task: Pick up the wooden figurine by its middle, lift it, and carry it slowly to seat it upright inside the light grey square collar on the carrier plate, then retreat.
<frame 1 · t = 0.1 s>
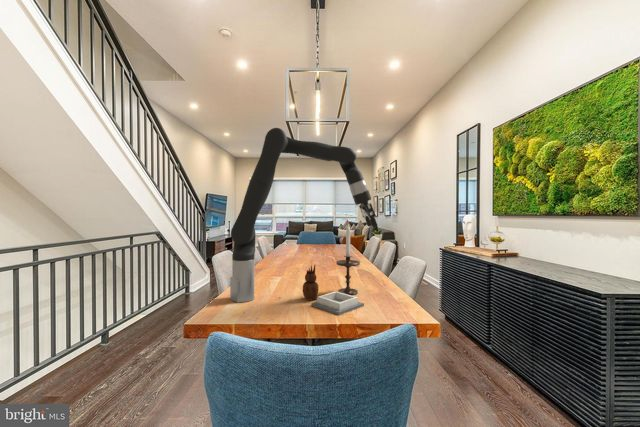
hand: (372, 226, 129), 31 cm above the table, tool tilted 20°, fingers open, 8 cm apart
carrier plate: (337, 305, 117), on the table
candlestick: (347, 293, 135), on the table
wooden figurine: (310, 299, 125), on the table
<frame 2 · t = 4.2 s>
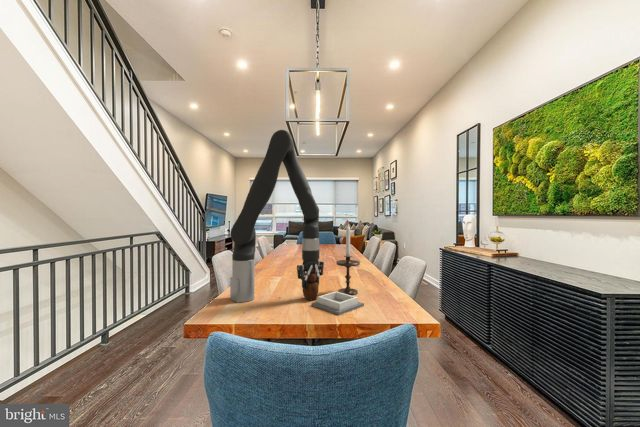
hand: (310, 287, 125), 5 cm above the table, tool pointing down, fingers closed on wooden figurine, 6 cm apart
wooden figurine: (310, 299, 125), on the table, touching gripper
everything else where it was.
when the fingers open (8 cm above the table, at t = 14.0 s): wooden figurine drops 1 cm, resting on carrier plate.
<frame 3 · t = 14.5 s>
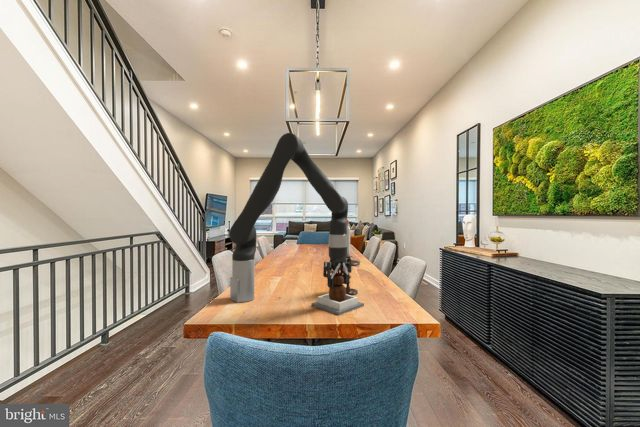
hand: (337, 285, 117), 8 cm above the table, tool pointing down, fingers open, 8 cm apart
wooden figurine: (337, 303, 117), point 1 cm above the table, touching carrier plate
everything else where it was.
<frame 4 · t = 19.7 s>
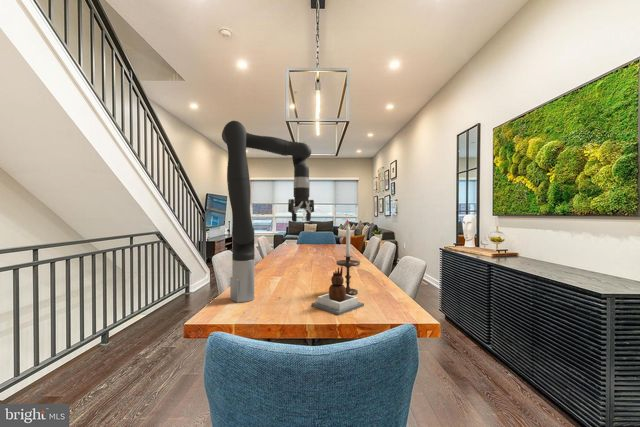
hand: (301, 221, 137), 33 cm above the table, tool pointing down, fingers open, 8 cm apart
nothing on the table moved.
at the end: wooden figurine 0.1 cm off-centre on the carrier plate, point 0.8 cm above the carrier plate's base; wooden figurine tilted 0°; the gripper is holding nothing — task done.
